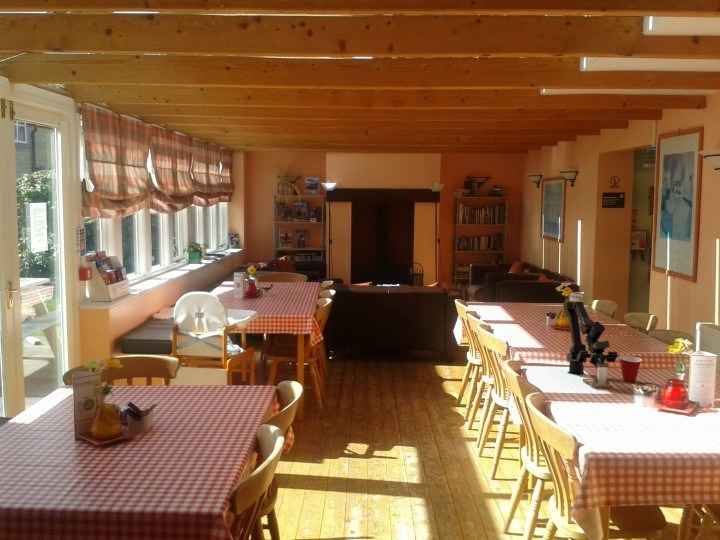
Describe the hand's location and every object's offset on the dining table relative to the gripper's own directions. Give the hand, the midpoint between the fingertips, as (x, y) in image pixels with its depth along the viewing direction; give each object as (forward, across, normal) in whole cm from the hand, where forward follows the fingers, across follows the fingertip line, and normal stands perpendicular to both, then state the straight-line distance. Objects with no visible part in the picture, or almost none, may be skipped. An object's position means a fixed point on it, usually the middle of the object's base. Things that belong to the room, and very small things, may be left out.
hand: (601, 370), depth 345 cm
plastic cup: (-4, +21, +16) cm, 26 cm away
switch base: (+3, 0, +8) cm, 9 cm away
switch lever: (+4, 0, +4) cm, 6 cm away
